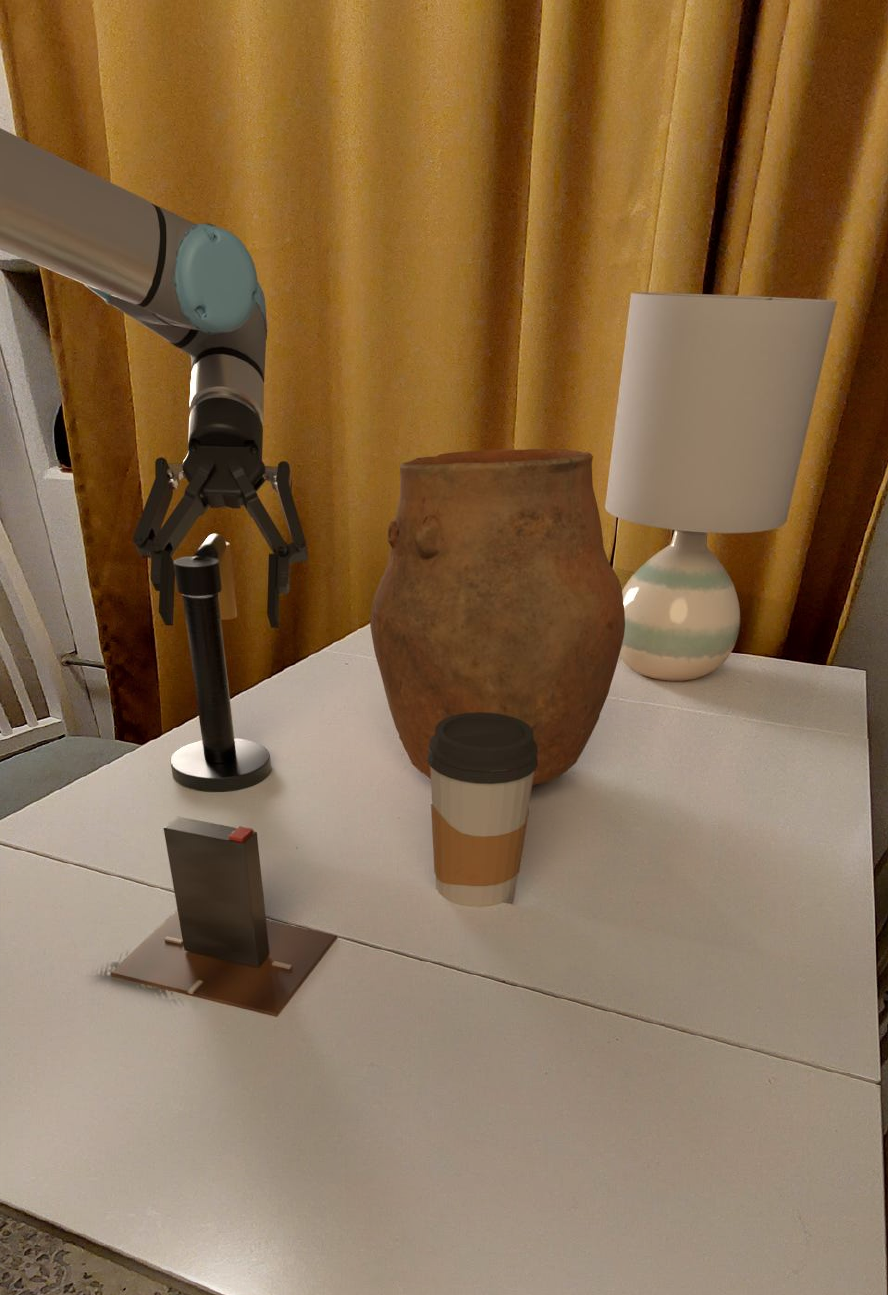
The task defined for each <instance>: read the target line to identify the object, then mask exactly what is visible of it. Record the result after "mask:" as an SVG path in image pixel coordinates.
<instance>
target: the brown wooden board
mask: <svg viewBox="0 0 888 1295" xmlns="http://www.w3.org/2000/svg"><path fill="white" fill-rule="evenodd" d="M266 924H267V934H268V944H269V953H270V954H269V956H268V957H267V958H266V959H265V961H264V962H263V963H262V964H261V965H260V967H259V968H256V967H252V966H248V965H244V964H239V963H235V962H231V961H226V960H222V959H218V958H214V957H209V956H205V955H201V954H197V953H192V952H188V951H185V950H184V945H183V939H182V933H181V927H180V922H179V916H178V910H177V909H176V910H174V912H173V913H172V914H170V916H169V917H167V919H165V920H164V921H163V922H162V923H161V924H160V925H159V926H158V927H157V928H156V929H155V930H154V931H153V932H152V933H150V934H149V935H148V936H147V937H146V938H145V939H144V940H143V941H142V942H141V943H140V944H139V945H138V946H137V947H136V948H135V949H133V951H131V952H130V954H129V955H128V956H126V957H125V958H124V959H123V960H122V961H121V962H120V963H119V964H118V965H117V966H116V967H114V969H113V970H111V971H110V973H109V974H110V977H113V978H117V979H121V980H124V981H129V982H133V983H136V984H137V983H138V984H142V985H146V986H149V987H153V988H157V989H162V990H166V991H168V992H169V991H170V992H173V993H177V994H182V995H186V996H190V997H194V998H198V999H201V1000H202V999H203V1000H206V1001H211V1002H214V1003H219V1004H223V1005H226V1006H231V1007H234V1008H238V1009H242V1010H247V1011H250V1012H255V1013H259V1014H261V1015H262V1014H263V1015H267V1016H271V1017H275V1018H278V1017H279V1016H280V1014H281V1013H282V1011H283V1010H284V1009H285V1008H286V1007H287V1005H288V1004H289V1003H290V1001H291V1000H292V999H293V997H294V996H295V995H296V993H297V992H298V990H299V989H300V988H301V987H302V985H303V984H304V983H305V981H306V980H307V979H308V978H309V976H310V975H311V973H312V972H313V971H314V970H315V968H316V967H317V966H318V964H320V962H321V961H322V959H323V958H324V956H325V955H327V953H328V951H329V950H330V948H331V947H332V946H333V945H334V943H335V942H336V941H337V939H338V935H336V934H331V933H328V932H327V933H326V932H323V931H318V930H314V929H310V928H304V927H300V926H295V925H290V924H286V923H283V922H282V923H281V922H277V921H272V920H268V919H266Z"/></svg>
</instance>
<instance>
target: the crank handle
mask: <svg viewBox="0 0 888 1295" xmlns="http://www.w3.org/2000/svg"><path fill="white" fill-rule="evenodd" d="M173 562H174V570H175V585H176V590H177V592H178V593H179V594H180V595H182V596H183V595H188V596H208V595H213V594H217V593H218V598H219V607H220V616H221V621H222V620H225V621H226V620H232V619H235V618H237V617H238V609H237V608H238V606H237V599H236V598H237V597H236V589H235V588H236V587H235V578H234V568H233V558H232V549H231V543H230V542H229V541H226V540H225V538H224V537H223V536H222V535H221V534H219V533H211V534H209V535H208V536H207V538H205V540H204V542H202V543H201V545H200V546H199V547H198V549H197V550H196V552H195V553H194V554H193V555H191V556H182V557H179V558H176V559H175V560H173Z"/></svg>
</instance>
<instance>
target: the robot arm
mask: <svg viewBox="0 0 888 1295" xmlns="http://www.w3.org/2000/svg"><path fill="white" fill-rule="evenodd" d="M0 251H3V252H5V253H7V254H9V255H12V256H15V257H17V258H20V259H22V260H24V261H27V262H29V263H32V264H35V265H37V266H40V267H42V268H44V269H46V270H49V271H52V272H54V273H56V274H59V275H62V276H64V277H66V278H69V279H71V280H74V281H77V282H78V283H80V284H82V285H84V286H85V287H86V288H88V290H90V291H92V292H93V293H94V294H96V295H97V296H98V297H100V298H101V299H102V300H103V301H104V303H105V304H107V305H108V306H110V305H111V306H113V307H114V308H116V309H118V310H119V311H121V312H122V313H123V314H125V315H127V316H128V317H130V318H132V319H133V320H135V321H136V322H138V323H139V324H141V325H143V326H144V327H146V328H147V329H148V330H150V331H152V332H154V333H155V334H156V335H158V336H159V337H161V338H163V339H164V340H166V341H168V343H170V344H171V345H172V346H174V347H176V348H178V349H179V350H181V351H182V352H183V353H185V354H187V355H188V356H190V360H191V369H190V370H191V372H190V373H191V374H190V376H191V379H190V394H189V411H190V413H189V417H188V418H189V420H188V441H187V447H188V448H187V454H186V457H185V458H184V460H183V461H182V462H181V463H179V462H177V463H176V462H175V463H168V461H167V458H165V457H158V458H156V459H155V462H154V470H155V478H154V481H153V484H152V486H151V488H150V492H149V494H148V497H147V500H146V502H145V505H144V507H143V510H142V513H141V516H140V518H139V521H138V523H137V525H136V529H135V531H134V534H133V536H132V541H133V544H134V545H135V548H136V551H137V553H138V554H139V556H140V557H141V558H142V559H150V575H149V576H150V578H149V579H150V581H151V584H152V586H153V588H154V590H155V592H159V596H158V614H159V615H160V618H161V619H162V621H163V623H164V625H165V626H168V627H169V626H174V612H175V611H174V609H175V586H176V577H175V570H174V560H173V557H172V556H173V555H174V554H175V552H176V551H177V550H178V548H179V546H181V543H182V542H183V541H184V539H185V538H186V537H187V535H188V533H189V532H190V531H191V529H192V527H193V526H194V525H195V523H196V522H197V520H198V519H199V517H201V516H204V515H205V513H206V512H207V510H208V509H209V507H210V509H220V508H224V507H226V508H230V509H241V507H244V509H245V510H246V511H247V513H248V515H249V517H250V518H252V520H253V522H254V523H255V525H256V527H257V529H258V530H259V532H260V533H261V535H262V536H263V538H264V540H265V542H266V543H267V545H268V547H269V548H270V550H271V552H272V553H268V568H267V570H268V571H267V573H268V574H267V601H266V602H267V605H266V608H267V610H266V615H267V619H268V622H269V625H270V628H271V629H279V625H280V624H279V622H280V621H279V619H280V618H279V617H280V595H288V594H289V593H290V590H291V567H292V565H293V564H294V563H297V562H299V563H306V562H307V561H308V560H309V551H308V546H307V541H306V537H305V534H304V531H303V527H302V524H301V521H300V517H299V513H298V510H297V507H296V503H295V500H294V496H293V494H292V490H293V477H292V471H291V467H290V464H289V462H288V461H285V460H282V461H280V462H278V464H277V466H273V465H265V463H264V461H263V448H264V446H263V445H264V444H263V443H264V427H263V424H264V413H265V412H264V410H265V375H266V374H265V373H266V350H267V339H268V331H269V330H268V321H267V306H266V297H265V293H264V290H263V288H262V286H261V285H260V283H259V281H258V274H257V268H256V265H255V262H254V260H253V257H252V255H251V253H250V251H249V250H248V248H247V247H246V245H245V244H244V242H243V241H242V240H241V239H240V238H239V237H238V236H237V235H236V234H234V233H233V232H231V231H230V230H228V229H225V228H223V227H218V226H216V225H215V224H212V223H198V224H197V223H195V222H193V221H190V220H188V219H186V218H184V217H182V216H180V215H178V214H176V213H175V212H172V211H170V210H168V209H165V208H163V207H161V206H159V205H156V204H153V203H151V202H150V200H148V199H145V198H144V197H141V196H139V195H137V194H136V193H133V192H131V191H129V190H127V189H125V188H123V187H121V186H119V185H117V184H115V183H113V182H111V181H109V180H107V179H105V178H103V177H101V176H99V175H96V174H95V173H93V172H91V171H89V170H86V169H85V168H82V167H80V166H78V165H76V164H74V163H72V162H71V161H68V160H67V159H64V158H62V157H60V156H59V155H56V154H54V153H52V152H50V151H48V150H45V149H44V148H42V147H40V146H37V145H35V143H34V144H33V143H31V142H30V141H27V140H25V139H24V138H21V137H20V136H18V135H15V134H13V133H12V132H9V131H7V130H5V129H3V128H1V127H0ZM182 479H186V481H187V483H188V484H187V485H186V487H185V490H184V494H183V497H182V498H181V499H180V500H179V502H178V504H177V505H176V507H175V508H174V509H173V511H172V512H171V514H170V515H169V516H168V518H167V519H166V521H165V518H166V515H167V513H168V510H169V508H170V505H171V502H172V499H173V495H174V490H177V489H179V488H178V487H179V485H180V481H181V480H182ZM265 482H269V483H270V486H271V489H272V490H274V491H275V492H276V493H278V496H279V501H280V504H281V509H282V511H283V514H284V518H285V521H286V526H287V529H288V532H289V535H290V539H291V543H288V542H287V541H285V539H284V538H283V536H282V534H281V532H280V531H279V529H278V528H277V526H276V524H275V523H274V521H273V519H272V517H271V515H270V514H269V513H268V511H267V508H266V507H265V505H264V504H263V502H262V501H261V499H260V497H259V495H258V493H257V492H258V491H259V490H260V488H262V486H263V485H264V484H265ZM164 521H165V522H164Z"/></svg>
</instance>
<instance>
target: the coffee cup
mask: <svg viewBox="0 0 888 1295" xmlns="http://www.w3.org/2000/svg"><path fill="white" fill-rule="evenodd" d="M537 753H538V748H537V743H536V742H535V741H534V735H533V730H532V728H531V727H530V726H529V725H528V724H526V723H525V722H523V721H522V720H519V719H517V718H514V717H511V716H507V715H503V714H496V713H485V712H474V713H463V714H457V715H453V716H450V717H447V718H445V719H443V720H442V721H440V722H439V723H438V724H437V726H436V728H435V735H434V736H433V737H432V738H431V740H430V744H429V753H428V760H427V761H428V763H429V764H430V769H431V779H430V786H431V788H430V789H431V804H430V810H431V811H430V812H431V831H432V832H431V833H432V852H433V853H432V855H433V869H434V870H433V871H434V875H435V890H437V892H438V893H439V895H440V896H442V898H444V899H445V900H447V901H449V902H450V903H453V904H457V905H460V906H463V907H470V908H486V907H494V906H497V905H501V904H502V903H504V904H509V905H513V903H514V900H515V893H516V887H517V881H518V875H519V873H520V868H521V862H522V855H523V851H524V850H523V849H524V843H525V837H526V831H527V825H528V821H529V820H528V819H529V815H530V801H531V796H532V795H531V794H532V788H533V785H532V783H533V777H534V771H535V770H536V768H537V766H538V760H537Z"/></svg>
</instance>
